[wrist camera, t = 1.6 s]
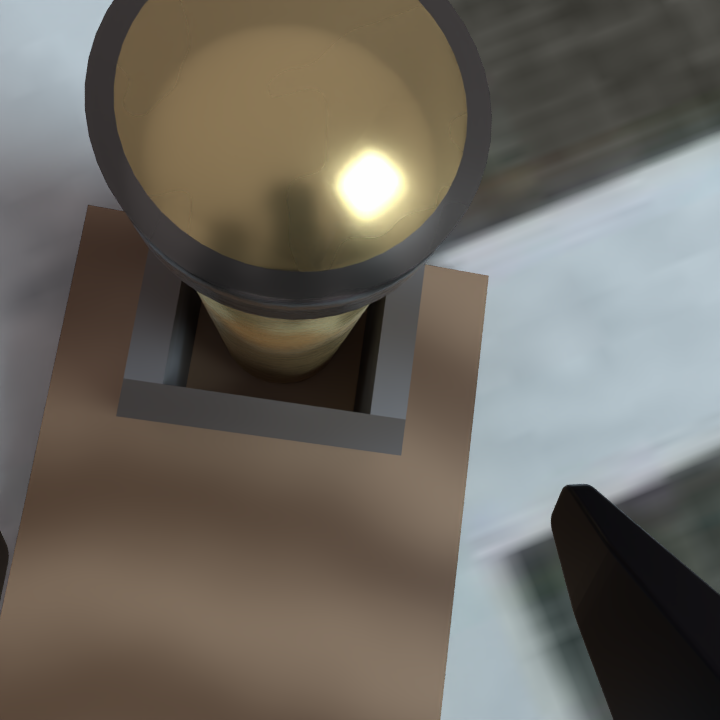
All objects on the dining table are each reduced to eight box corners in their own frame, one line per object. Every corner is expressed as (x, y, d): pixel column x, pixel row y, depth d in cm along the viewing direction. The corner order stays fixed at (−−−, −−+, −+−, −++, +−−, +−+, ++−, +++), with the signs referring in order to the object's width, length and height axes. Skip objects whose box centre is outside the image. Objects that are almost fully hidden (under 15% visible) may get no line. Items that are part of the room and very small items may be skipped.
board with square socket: (411, 856, 20) (459, 1005, 15) (-27, 830, 19) (-149, 987, 13) (477, 266, 23) (537, 214, 18) (105, 199, 22) (49, 121, 16)
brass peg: (339, 402, 21) (469, 329, 7) (202, 382, 20) (44, 258, 6) (358, 272, 21) (510, -33, 8) (225, 249, 21) (128, -123, 7)
